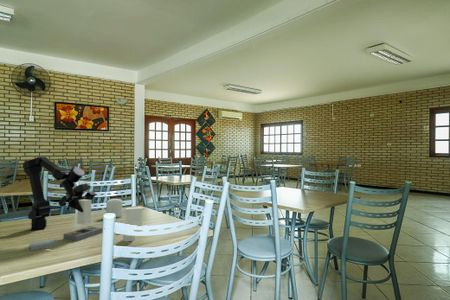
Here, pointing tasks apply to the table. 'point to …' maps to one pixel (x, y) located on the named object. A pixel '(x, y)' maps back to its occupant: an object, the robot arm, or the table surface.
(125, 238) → the shot glass
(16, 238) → the table surface
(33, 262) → the table surface
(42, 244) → the mat
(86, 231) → the power strip
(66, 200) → the robot arm
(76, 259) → the table surface
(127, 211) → the base with upright slab
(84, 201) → the block
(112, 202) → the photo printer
